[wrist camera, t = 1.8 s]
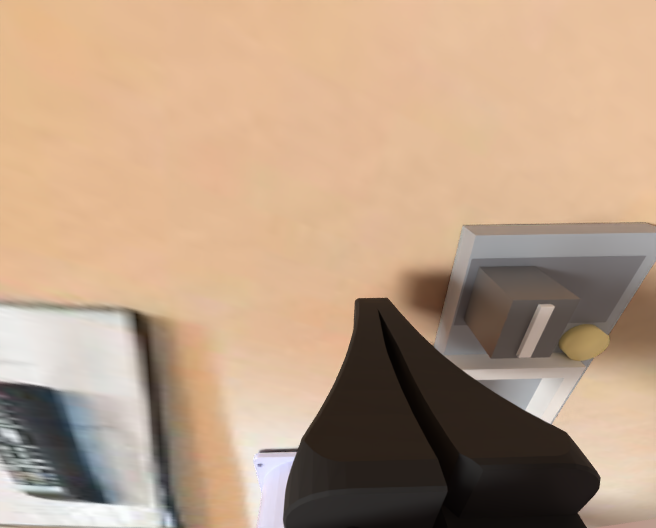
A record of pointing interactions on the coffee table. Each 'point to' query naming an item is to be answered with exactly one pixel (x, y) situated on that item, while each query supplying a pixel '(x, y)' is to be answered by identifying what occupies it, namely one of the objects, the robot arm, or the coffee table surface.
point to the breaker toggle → (518, 311)
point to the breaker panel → (569, 271)
